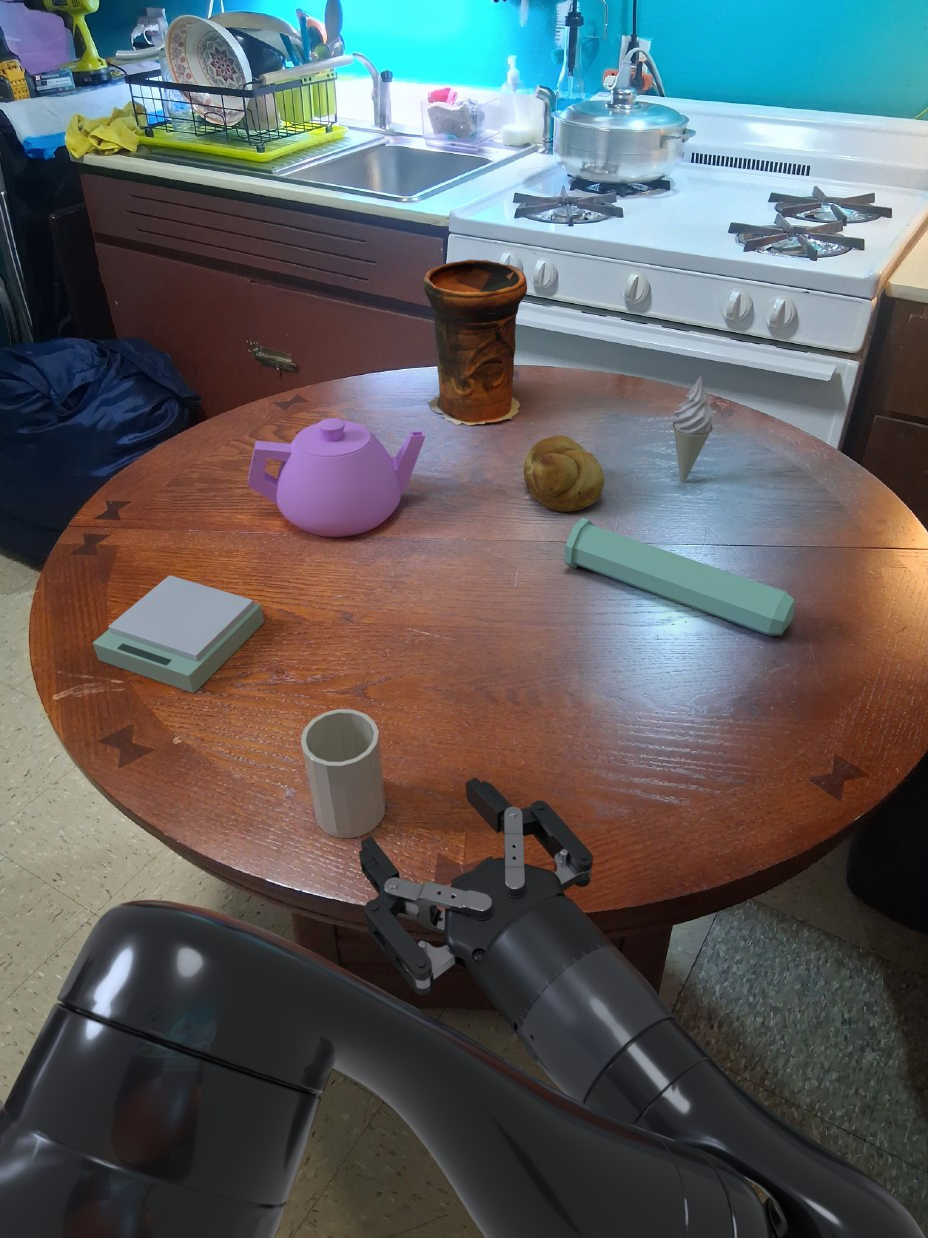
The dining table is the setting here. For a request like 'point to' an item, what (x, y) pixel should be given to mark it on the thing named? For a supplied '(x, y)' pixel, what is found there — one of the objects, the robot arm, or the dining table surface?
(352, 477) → the teapot
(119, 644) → the scale
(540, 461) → the bread roll
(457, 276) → the vessel
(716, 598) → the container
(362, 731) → the tumbler
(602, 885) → the dining table surface
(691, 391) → the ice cream cone
